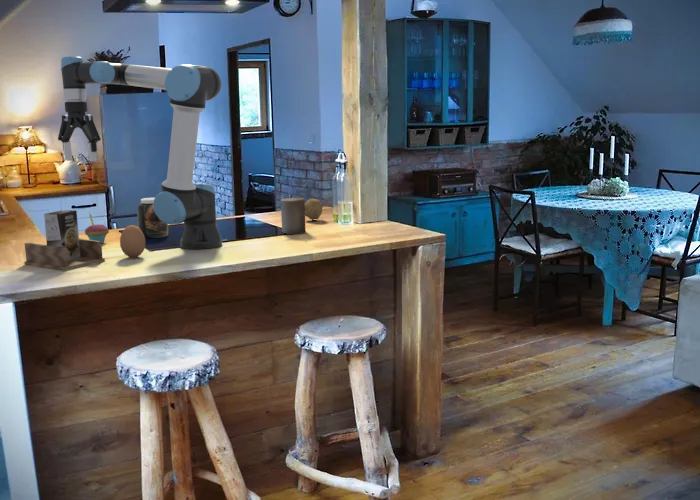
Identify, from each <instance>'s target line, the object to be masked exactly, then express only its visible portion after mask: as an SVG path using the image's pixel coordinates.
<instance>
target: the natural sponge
mask: <svg viewBox="0 0 700 500" xmlns="http://www.w3.org/2000/svg"><path fill="white" fill-rule="evenodd" d="M322 214H323V203H322V202H321V201H320V200H319V199H316V198H310V199H308V200H306V201H305V217H307V218H308V219H310V220H311V219H317V220H319V218H320V217H321V215H322Z"/></svg>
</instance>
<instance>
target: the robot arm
mask: <svg viewBox="0 0 700 500" xmlns="http://www.w3.org/2000/svg"><path fill="white" fill-rule="evenodd" d="M60 67H61V68H60V71H61V76H62V77H61V78H62V87H63V100H64V101H65V102H64V111H65V112H66V113H67V114H62V115H61V124H60V127H59V130H58V131H59V132H58V135H57V136H58V137H57V141H59V142H61V143H62V150H63V155H64V161H73V152H72V142H71V138H72V135H73V133H74V131H75V130H76V128H79V129H81V130H82V133H83V134H84V135H85V137H86V138H87V140H88V142H87V145H88V156H89V157H88V158H89V162H97V161H98V156H97V151H98V148H97V147H98V146H97V143H98V142H99V141H101V140H102V139H101V137H100V134H99V131H98V130H97V129H98V128H97V127H96V124H95V122H94V117H93V114H86V113H87V112H88V102H87V101H86V100H87V93H86V92H87V91H86V88H87V87H86V85H88V84H89V85H90V84H91V85H92V84H97V85H98V84H100V85H102V84H103V85H118V86H119V85H120V86H121V85H122V86H133V87H141V88H147V89H156V90H157V89H158V90H165V92H167V96H168V97H169V104H170V106H171V107H172V108H173V113H172V124H171V134H170V145H169V153H168V154H169V155H168V166H167V174H166V175H167V176H166V179H165V180H163V182H161V187H160V188H161V189H160V192H159V193H157V195H155V196H154V197H153V198H154V202H153V208H154V211H155V214H156V215H157V216H158V218H159V219H160V220H161V221H162V222H164V223H166V224H168V225H180V224H182V223H183V230H182V233H181V238H180V242H179V243H180V248H182V249H186V250H187V249H188V250H203V249H213V248H218V247H221V246H222V245H223V238H222V237H221V234H220V229H219V228H218V225H217V213H216V212H217V211H216V192H215V187H214V185H213V184H209V183H194V182H193V179H194V171H195V161H196V151H197V144H198V143H197V142H198V135H199V134H198V133H199V124H200V116H201V115H200V114H201V112H203V111H204V110H205V109H206V102H207V101H211V100H213V99H215V98H217V96H218V95H219V94H220V92H221V89H222V79H221V77H220V75H219V73H218V71H216V69H214V68H212V67H210V66H206V65H205V66H204V65H197V64H196V65H195V64H188V63H187V64H186V63H184V64H178V65H175V66H173V67H172V68H169V67H158V66H157V67H156V66H148V65H139V64H138V65H137V64H129V63H117V62H109V61H105V60H97V61H86V62H85V61H84V58H83V57H81V56H62V57H61V59H60Z"/></svg>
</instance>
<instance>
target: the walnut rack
mask: <svg viewBox="0 0 700 500" xmlns="http://www.w3.org/2000/svg"><path fill="white" fill-rule="evenodd" d="M79 245H80V258H77V259H74V260H71V261H69V260H68V250H67V248H64V247H56V246H49V245H47V244H42V243H41V244H40V243H33V242H24V251H25V261H23V262H24V263H23V264H24V265H25V266H32V267H37V268H43V269H44V268H45V269H50V270H57V271H63V272H64V271H68V270H69V271H70V270H74V269H77V268H81V267H86V266H90V265H95V264H99V263H103V262H105V258H104V257H103V250H102V249H103V248H102V243H101V241H96V240H89V238H88V239H87V238H80V237H79Z"/></svg>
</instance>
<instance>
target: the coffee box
mask: <svg viewBox="0 0 700 500" xmlns="http://www.w3.org/2000/svg"><path fill="white" fill-rule="evenodd" d="M77 212H78V211H77V210H58V211H52V212H47V213H43V216H44V228H45V229H44V230H45V240H46V241H45V242H46V245H49V246H56V247H64V248H67V250H68V260H69V261H71V260H74V259H77V258H80V245H79V238H80V234H79V224H78V223H79V222H78V213H77Z"/></svg>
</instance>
